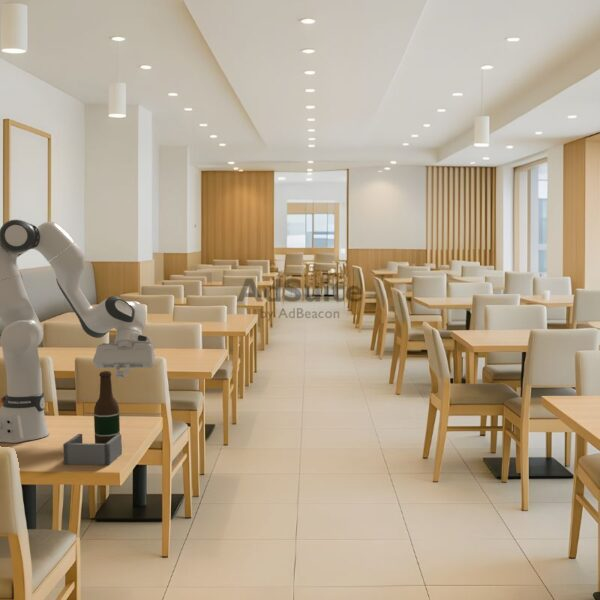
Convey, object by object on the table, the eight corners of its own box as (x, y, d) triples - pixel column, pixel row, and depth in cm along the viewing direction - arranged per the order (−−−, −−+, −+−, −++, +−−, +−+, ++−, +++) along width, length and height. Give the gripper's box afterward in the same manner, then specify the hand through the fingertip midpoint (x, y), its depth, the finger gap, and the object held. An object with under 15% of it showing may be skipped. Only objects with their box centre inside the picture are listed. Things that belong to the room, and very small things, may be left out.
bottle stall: (63, 464, 232) (63, 444, 231) (79, 453, 244) (78, 433, 243) (108, 465, 230) (108, 444, 230) (121, 453, 243) (121, 434, 242)
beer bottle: (97, 451, 245) (94, 374, 243) (93, 445, 252) (90, 370, 250) (122, 448, 248) (120, 372, 246) (117, 443, 255) (115, 369, 253)
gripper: (95, 338, 270) (86, 371, 261) (154, 337, 268) (148, 371, 259) (100, 349, 275) (92, 382, 266) (158, 348, 273) (152, 382, 264)
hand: (120, 376), depth 262 cm, fingers closed
